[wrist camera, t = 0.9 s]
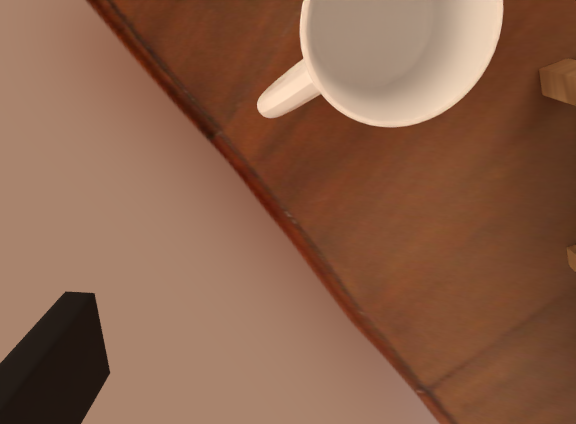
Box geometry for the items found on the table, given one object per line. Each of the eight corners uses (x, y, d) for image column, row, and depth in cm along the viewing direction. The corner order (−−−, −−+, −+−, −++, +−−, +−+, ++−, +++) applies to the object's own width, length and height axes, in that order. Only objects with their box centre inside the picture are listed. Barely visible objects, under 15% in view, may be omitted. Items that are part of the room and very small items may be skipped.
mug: (299, 143, 30) (293, 199, 21) (232, 38, 28) (190, 48, 18) (458, 46, 27) (534, 60, 18) (399, -84, 24) (452, -148, 15)
